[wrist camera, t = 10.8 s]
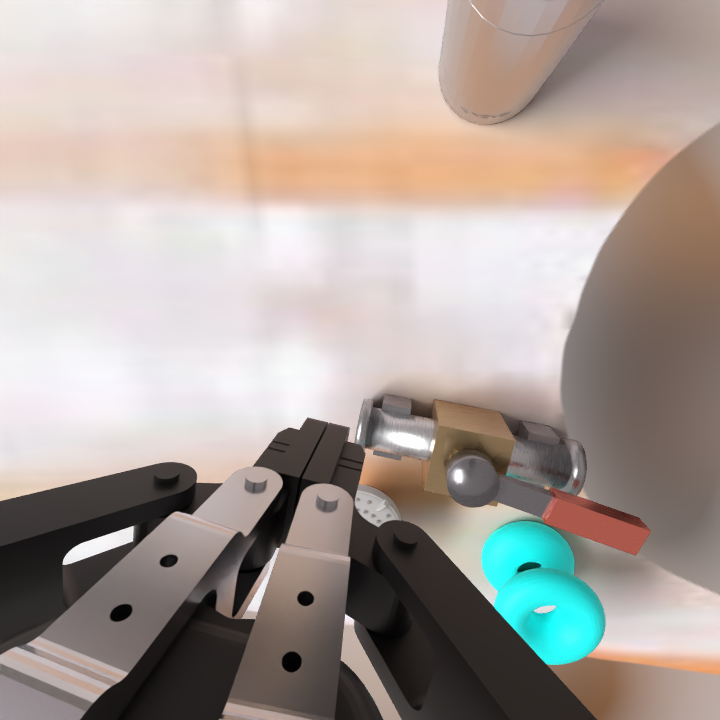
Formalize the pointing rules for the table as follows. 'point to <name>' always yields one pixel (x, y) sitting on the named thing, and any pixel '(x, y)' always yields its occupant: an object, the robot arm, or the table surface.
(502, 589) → the donuts
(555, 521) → the lever
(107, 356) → the table surface
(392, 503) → the showerhead
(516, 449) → the valve body
